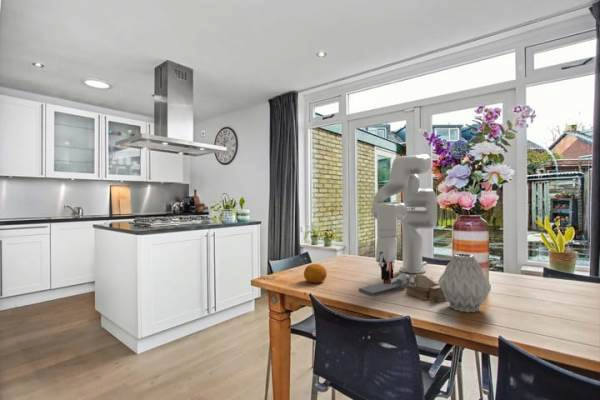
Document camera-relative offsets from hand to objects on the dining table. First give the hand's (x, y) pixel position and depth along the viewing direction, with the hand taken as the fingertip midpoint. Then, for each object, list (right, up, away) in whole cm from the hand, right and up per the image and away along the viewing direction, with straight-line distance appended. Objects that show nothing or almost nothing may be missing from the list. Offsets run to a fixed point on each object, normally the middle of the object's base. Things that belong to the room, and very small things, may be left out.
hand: (387, 278), depth 127 cm
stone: (+15, -6, -2) cm, 16 cm away
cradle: (+16, -6, -3) cm, 17 cm away
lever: (+6, -3, +6) cm, 10 cm away
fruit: (-28, -6, +18) cm, 34 cm away
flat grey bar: (+2, -6, +7) cm, 9 cm away
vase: (+21, -6, -19) cm, 29 cm away
